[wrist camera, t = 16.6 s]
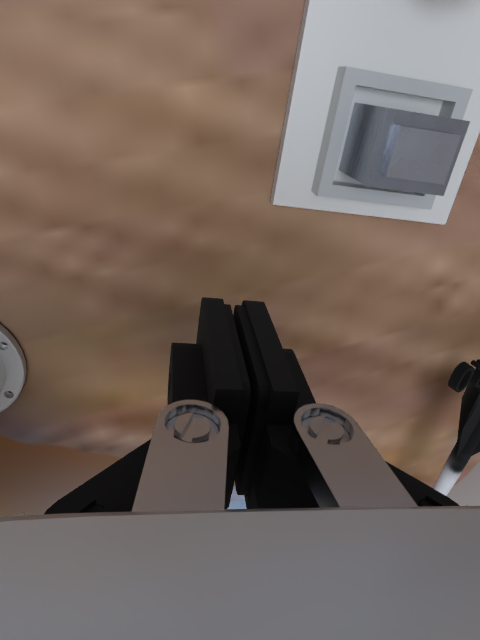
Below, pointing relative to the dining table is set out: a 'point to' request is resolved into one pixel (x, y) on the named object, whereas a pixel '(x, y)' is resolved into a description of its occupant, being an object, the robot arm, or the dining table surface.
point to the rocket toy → (463, 425)
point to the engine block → (401, 149)
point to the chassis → (375, 96)
